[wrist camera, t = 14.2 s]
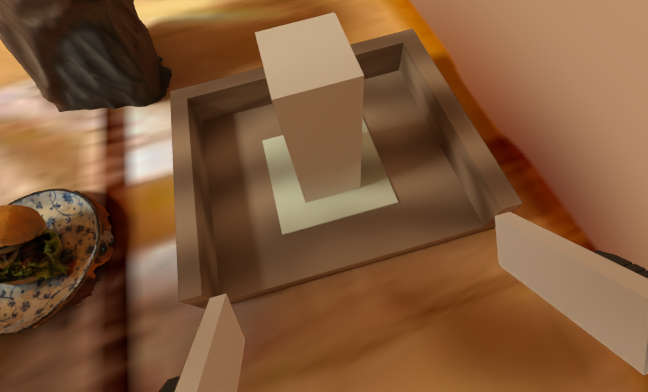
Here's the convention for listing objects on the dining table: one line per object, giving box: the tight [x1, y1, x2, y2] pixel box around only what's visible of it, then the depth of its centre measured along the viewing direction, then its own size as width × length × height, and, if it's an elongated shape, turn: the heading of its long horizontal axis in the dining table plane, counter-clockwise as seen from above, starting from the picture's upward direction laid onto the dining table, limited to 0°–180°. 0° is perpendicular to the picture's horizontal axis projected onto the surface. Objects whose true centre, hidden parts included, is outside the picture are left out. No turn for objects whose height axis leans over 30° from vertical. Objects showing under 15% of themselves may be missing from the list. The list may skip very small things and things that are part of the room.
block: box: [255, 12, 364, 203], centre depth 20 cm, size 5×4×11 cm
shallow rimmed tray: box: [170, 29, 523, 309], centre depth 25 cm, size 18×22×4 cm
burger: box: [0, 189, 115, 335], centre depth 22 cm, size 12×12×8 cm
